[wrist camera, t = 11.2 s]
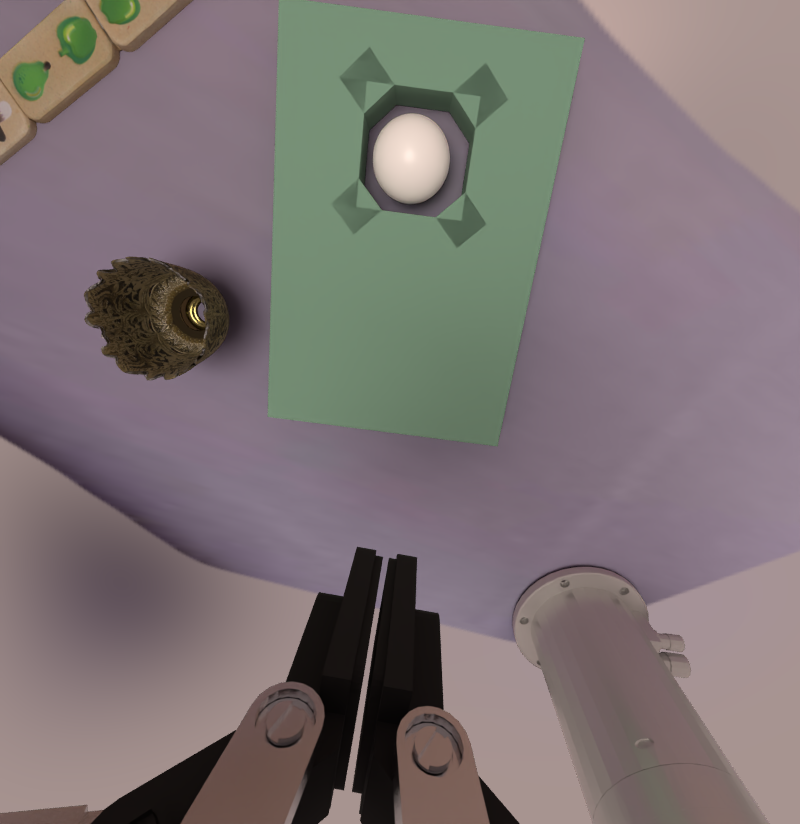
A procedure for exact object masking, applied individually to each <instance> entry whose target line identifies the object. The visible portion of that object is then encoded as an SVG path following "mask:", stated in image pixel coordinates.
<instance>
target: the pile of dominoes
mask: <svg viewBox="0 0 800 824" xmlns="http://www.w3.org/2000/svg"><path fill="white" fill-rule="evenodd" d="M192 1H193V0H64V1H63V2H62V3H61V4H60V5H59V6H58V7H57V8H56V9H55V10H53V11H52V12H51V13H50V14H49V15H48V16H47V17H46V18H45V19H44V20H42V21H41V22H40V23H39V24H38V25H37V26H36V27H35V28H34V29H32V30H31V31H30V32H29V33H28V34H27V35H26V36H25V37H24V38H22V39H21V40H20V41H19V42H18V43H17V44H16V45H15V46H14V47H12V48H11V49H10V50H9V51H8V52H7V53H6V54H5V55H4V56H2V58H1V59H0V165H2V164H3V163H4V162H5V161H6V160H8V159H9V158H10V157H11V156H13V155H14V154H15V153H16V152H17V151H19V150H20V149H21V148H22V147H24V146H25V145H26V144H27V143H29V142H30V141H31V140H32V139H33V138H34V137H35V135H36V132H37V126H36V122H39V123H47V122H50V121H51V120H52V119H53V118H55V117H56V116H57V115H58V114H60V113H61V112H62V111H63V110H64V109H66V108H67V107H68V106H69V105H71V104H72V103H73V102H74V101H76V100H77V99H78V98H79V97H80V96H82V95H83V94H84V93H85V92H87V91H88V90H89V89H90V88H91V87H93V86H94V85H95V84H96V83H98V82H99V81H100V80H101V79H102V78H104V77H105V76H106V75H107V74H109V73H110V72H111V71H112V70H113V69H115V68H116V67H117V65H118V63H119V59H120V51H121V50H124V51H127V52H133V51H135V50H137V49H138V48H139V47H140V46H141V45H143V44H144V43H145V42H146V41H147V40H148V39H149V38H151V37H152V36H153V35H154V34H155V33H156V32H157V31H159V30H160V29H161V28H162V27H163V26H164V25H165V24H166V23H168V22H169V21H170V20H171V19H172V18H173V17H174V16H175V15H177V14H178V13H179V12H180V11H181V10H182V9H184V8H185V7H186V6H187V5H188V4H189V3H190V2H192Z"/></svg>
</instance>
